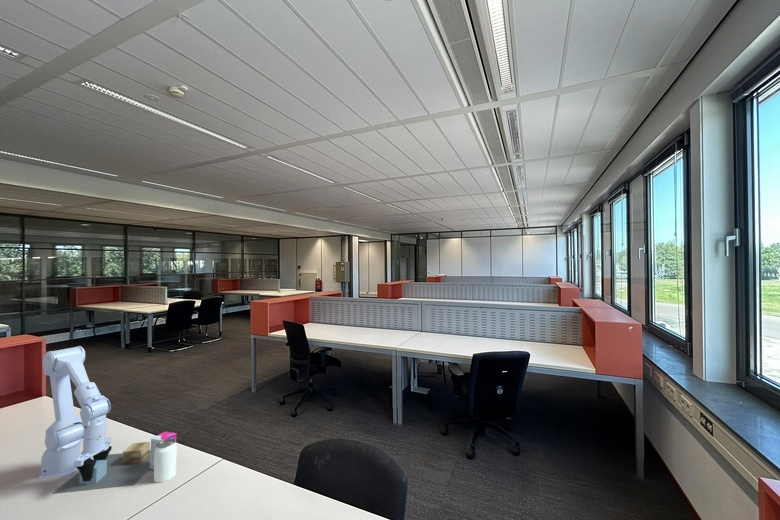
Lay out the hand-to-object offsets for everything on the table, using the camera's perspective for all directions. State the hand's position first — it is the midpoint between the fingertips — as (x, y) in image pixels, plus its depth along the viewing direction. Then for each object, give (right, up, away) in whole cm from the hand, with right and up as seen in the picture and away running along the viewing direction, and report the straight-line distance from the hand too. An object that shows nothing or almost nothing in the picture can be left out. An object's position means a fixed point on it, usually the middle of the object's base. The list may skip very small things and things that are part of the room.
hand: (93, 475), depth 111 cm
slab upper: (+6, +1, +11) cm, 13 cm away
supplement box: (+19, -2, +7) cm, 20 cm away
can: (+24, -2, +1) cm, 24 cm away
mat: (+3, -2, +6) cm, 7 cm away
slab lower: (+6, -2, +11) cm, 13 cm away
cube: (0, -1, 0) cm, 1 cm away
